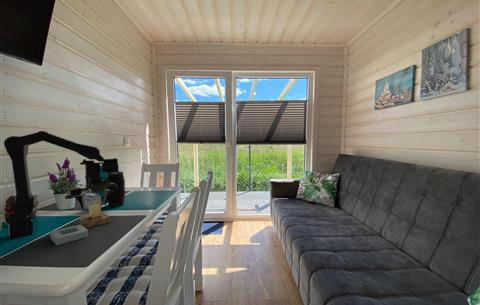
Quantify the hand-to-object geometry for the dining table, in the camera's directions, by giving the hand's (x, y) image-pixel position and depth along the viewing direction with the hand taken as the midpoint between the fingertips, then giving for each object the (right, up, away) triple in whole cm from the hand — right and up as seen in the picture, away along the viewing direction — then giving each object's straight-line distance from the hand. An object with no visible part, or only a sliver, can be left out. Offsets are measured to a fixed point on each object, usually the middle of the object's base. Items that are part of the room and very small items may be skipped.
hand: (94, 207), depth 103 cm
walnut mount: (0, -7, 0) cm, 7 cm away
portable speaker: (-5, -6, +28) cm, 29 cm away
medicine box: (-13, -6, +19) cm, 24 cm away
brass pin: (0, -7, 0) cm, 7 cm away
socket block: (0, -8, -15) cm, 17 cm away
